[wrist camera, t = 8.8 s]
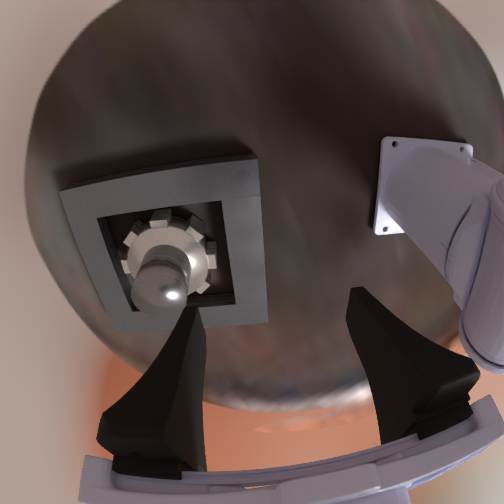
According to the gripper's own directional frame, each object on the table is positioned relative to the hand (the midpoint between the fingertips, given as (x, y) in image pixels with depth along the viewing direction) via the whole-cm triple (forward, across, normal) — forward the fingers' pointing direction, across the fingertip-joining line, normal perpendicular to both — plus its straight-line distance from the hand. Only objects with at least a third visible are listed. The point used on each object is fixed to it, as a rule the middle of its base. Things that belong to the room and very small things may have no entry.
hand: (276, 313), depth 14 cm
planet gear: (+9, +7, +2) cm, 12 cm away
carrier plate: (+9, +7, +2) cm, 12 cm away
